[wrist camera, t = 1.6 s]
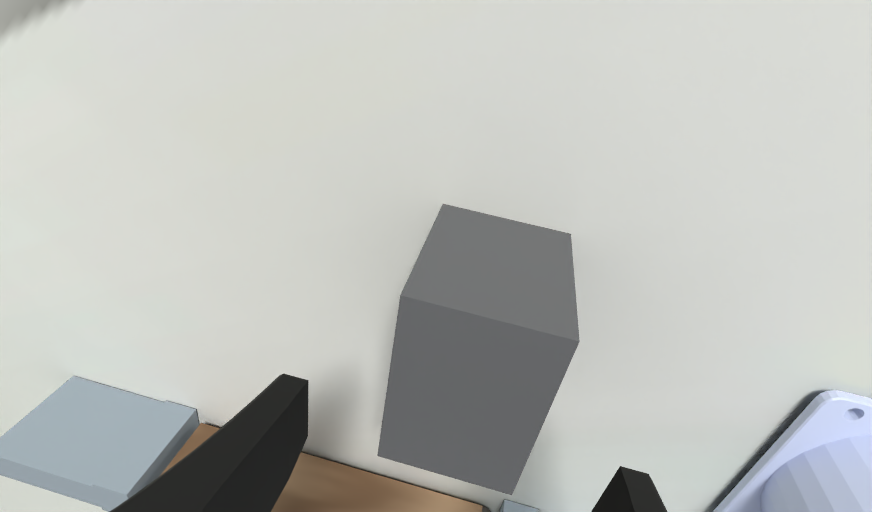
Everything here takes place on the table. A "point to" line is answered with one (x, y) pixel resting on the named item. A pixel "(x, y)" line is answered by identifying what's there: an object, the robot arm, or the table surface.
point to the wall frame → (102, 443)
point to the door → (343, 487)
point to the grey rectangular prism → (479, 347)
